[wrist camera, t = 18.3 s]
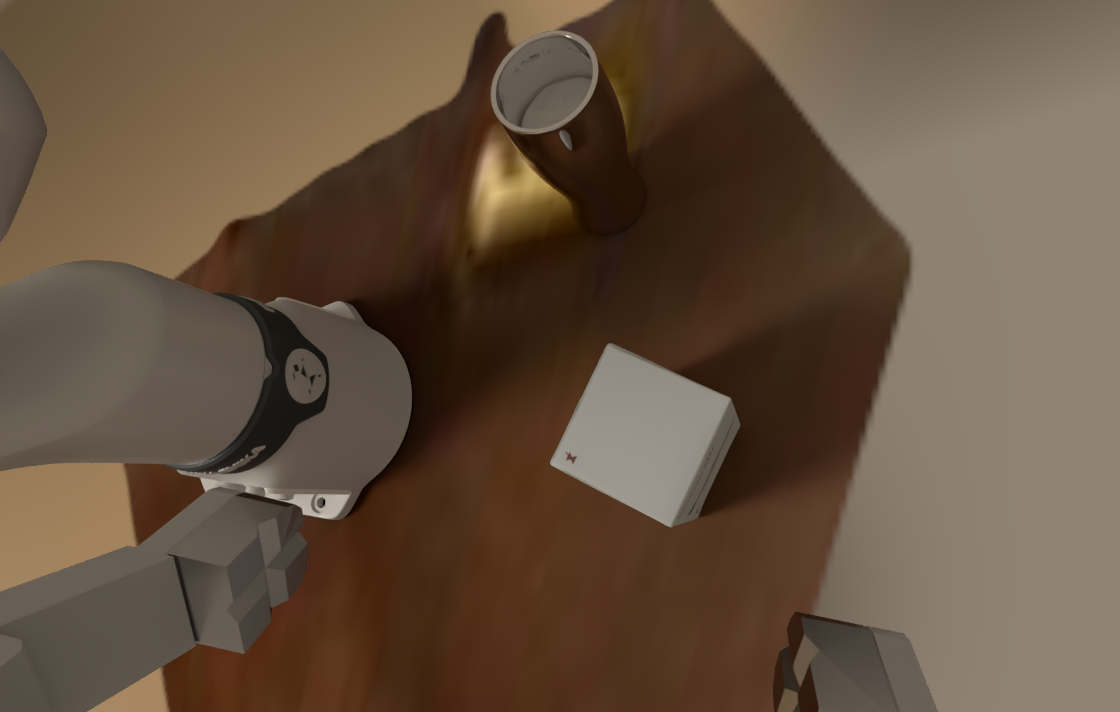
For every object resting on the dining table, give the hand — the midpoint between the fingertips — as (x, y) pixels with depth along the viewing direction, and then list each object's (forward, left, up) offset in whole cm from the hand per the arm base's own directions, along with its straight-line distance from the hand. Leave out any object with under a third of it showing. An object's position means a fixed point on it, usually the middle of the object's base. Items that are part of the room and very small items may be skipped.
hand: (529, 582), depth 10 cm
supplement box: (-2, +4, -33) cm, 34 cm away
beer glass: (-5, +24, -33) cm, 42 cm away
